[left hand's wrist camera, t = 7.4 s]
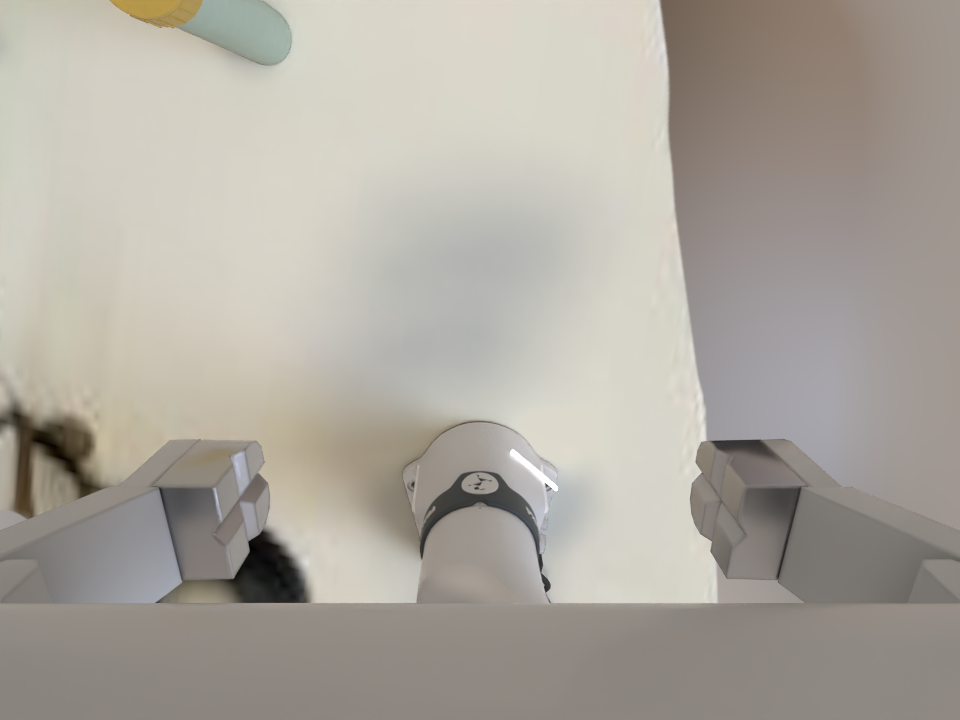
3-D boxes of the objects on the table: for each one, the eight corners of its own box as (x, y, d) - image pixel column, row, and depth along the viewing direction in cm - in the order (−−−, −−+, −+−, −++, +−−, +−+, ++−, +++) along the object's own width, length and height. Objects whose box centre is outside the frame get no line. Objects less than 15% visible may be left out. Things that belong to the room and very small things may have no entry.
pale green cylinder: (243, -3, 48) (102, -99, 30) (296, 16, 49) (188, -68, 31) (235, 55, 50) (96, -4, 32) (286, 72, 50) (178, 24, 32)
